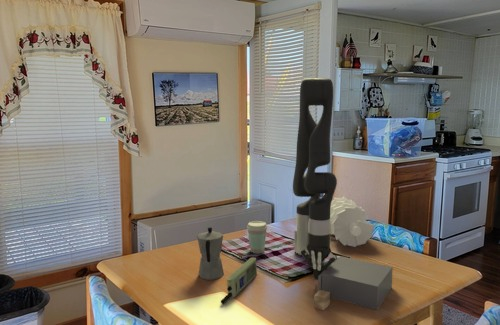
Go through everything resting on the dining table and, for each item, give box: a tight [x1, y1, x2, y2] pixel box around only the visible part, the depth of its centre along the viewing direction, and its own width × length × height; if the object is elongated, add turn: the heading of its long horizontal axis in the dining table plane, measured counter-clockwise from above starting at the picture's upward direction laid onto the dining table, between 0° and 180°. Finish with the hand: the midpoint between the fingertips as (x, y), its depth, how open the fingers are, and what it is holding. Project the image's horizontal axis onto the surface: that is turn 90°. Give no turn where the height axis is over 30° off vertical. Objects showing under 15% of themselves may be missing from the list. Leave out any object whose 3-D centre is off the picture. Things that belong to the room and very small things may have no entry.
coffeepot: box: [196, 226, 225, 281], centre depth 147 cm, size 15×9×18 cm, turn 179°
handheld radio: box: [220, 257, 258, 305], centre depth 138 cm, size 7×3×25 cm
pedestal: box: [313, 290, 331, 311], centre depth 125 cm, size 3×4×4 cm
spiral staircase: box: [330, 196, 376, 248], centre depth 184 cm, size 18×18×25 cm
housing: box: [322, 256, 393, 311], centre depth 134 cm, size 18×17×8 cm
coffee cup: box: [246, 220, 268, 254], centre depth 172 cm, size 8×8×12 cm
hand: (318, 279), depth 140 cm, fingers closed
